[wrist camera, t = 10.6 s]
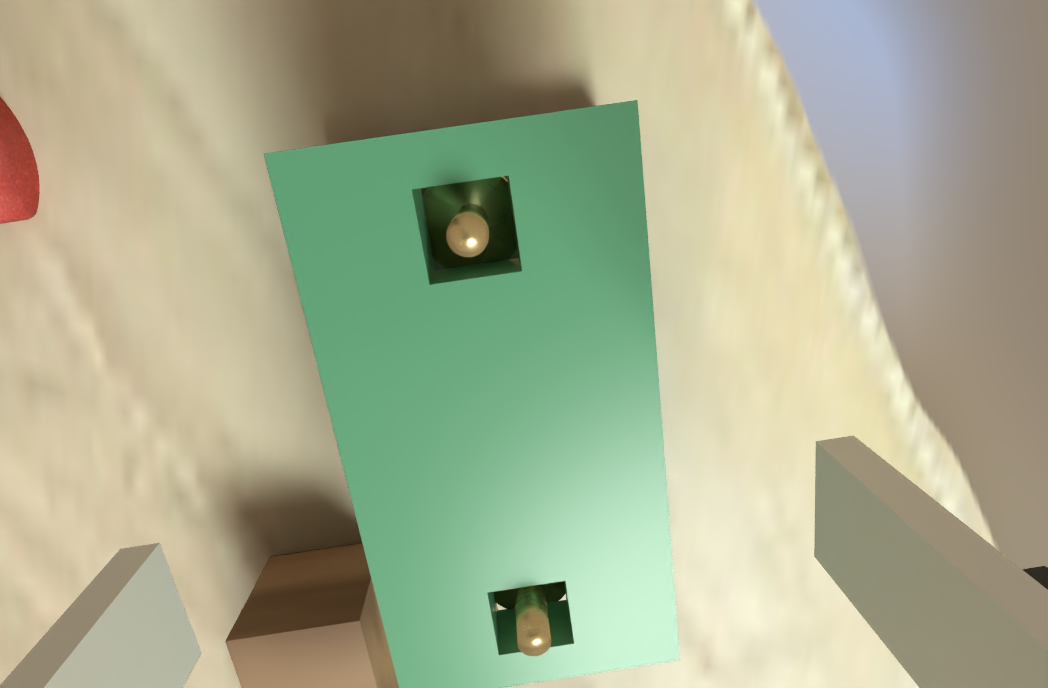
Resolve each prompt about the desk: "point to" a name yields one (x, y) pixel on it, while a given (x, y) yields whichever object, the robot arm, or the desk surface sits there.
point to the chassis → (467, 239)
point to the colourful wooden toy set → (16, 171)
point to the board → (494, 392)
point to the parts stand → (313, 625)
